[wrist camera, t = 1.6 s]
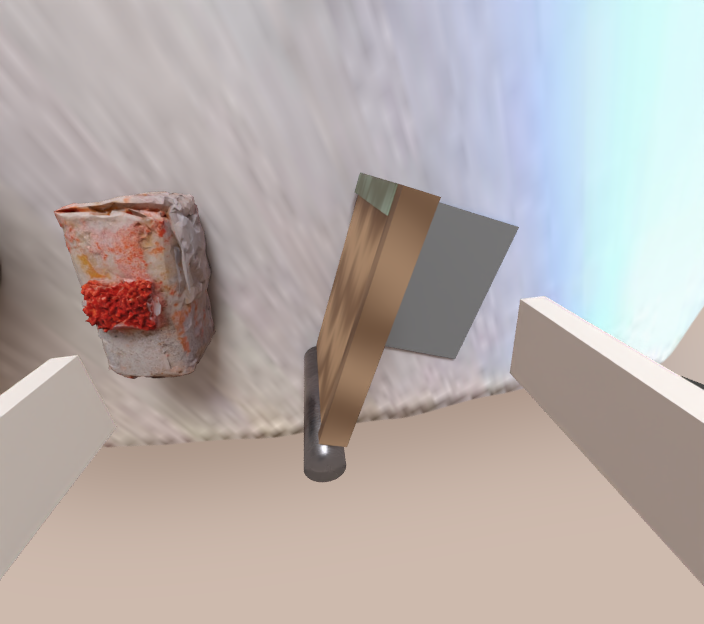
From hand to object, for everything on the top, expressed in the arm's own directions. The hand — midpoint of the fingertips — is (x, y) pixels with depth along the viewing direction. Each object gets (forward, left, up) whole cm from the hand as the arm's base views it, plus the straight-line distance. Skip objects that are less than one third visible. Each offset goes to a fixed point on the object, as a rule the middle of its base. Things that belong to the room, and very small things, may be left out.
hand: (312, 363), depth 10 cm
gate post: (+4, -14, -22) cm, 26 cm away
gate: (+4, -3, -21) cm, 21 cm away
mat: (+14, -3, -22) cm, 26 cm away
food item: (-11, -7, -22) cm, 25 cm away
